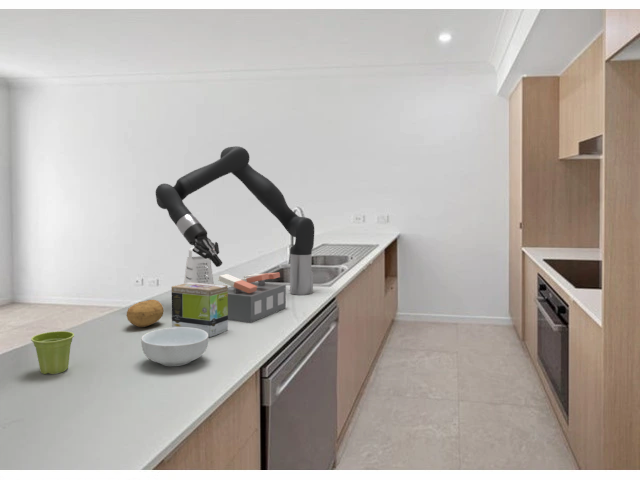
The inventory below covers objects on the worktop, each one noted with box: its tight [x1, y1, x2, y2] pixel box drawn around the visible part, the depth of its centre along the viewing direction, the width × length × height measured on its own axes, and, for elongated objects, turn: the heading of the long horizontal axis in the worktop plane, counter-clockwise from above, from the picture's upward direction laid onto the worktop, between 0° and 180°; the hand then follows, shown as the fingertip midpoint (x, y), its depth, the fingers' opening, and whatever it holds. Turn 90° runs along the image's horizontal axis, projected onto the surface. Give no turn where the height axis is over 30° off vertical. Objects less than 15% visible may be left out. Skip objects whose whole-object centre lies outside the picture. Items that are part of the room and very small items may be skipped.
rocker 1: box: [218, 273, 257, 293], centre depth 186 cm, size 5×13×2 cm, turn 66°
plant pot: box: [30, 330, 75, 375], centre depth 131 cm, size 9×9×9 cm
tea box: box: [171, 282, 229, 338], centre depth 168 cm, size 15×10×15 cm, turn 65°
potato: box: [125, 299, 165, 328], centre depth 174 cm, size 10×14×8 cm
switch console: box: [228, 280, 287, 323], centre depth 197 cm, size 31×16×11 cm, turn 156°
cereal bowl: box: [140, 327, 209, 367], centre depth 139 cm, size 17×17×7 cm
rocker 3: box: [243, 272, 281, 281], centre depth 201 cm, size 5×13×2 cm, turn 66°
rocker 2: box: [240, 273, 269, 283], centre depth 194 cm, size 5×13×2 cm, turn 66°
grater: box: [183, 246, 215, 284], centre depth 226 cm, size 10×10×20 cm
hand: (219, 265), depth 189 cm, fingers closed
